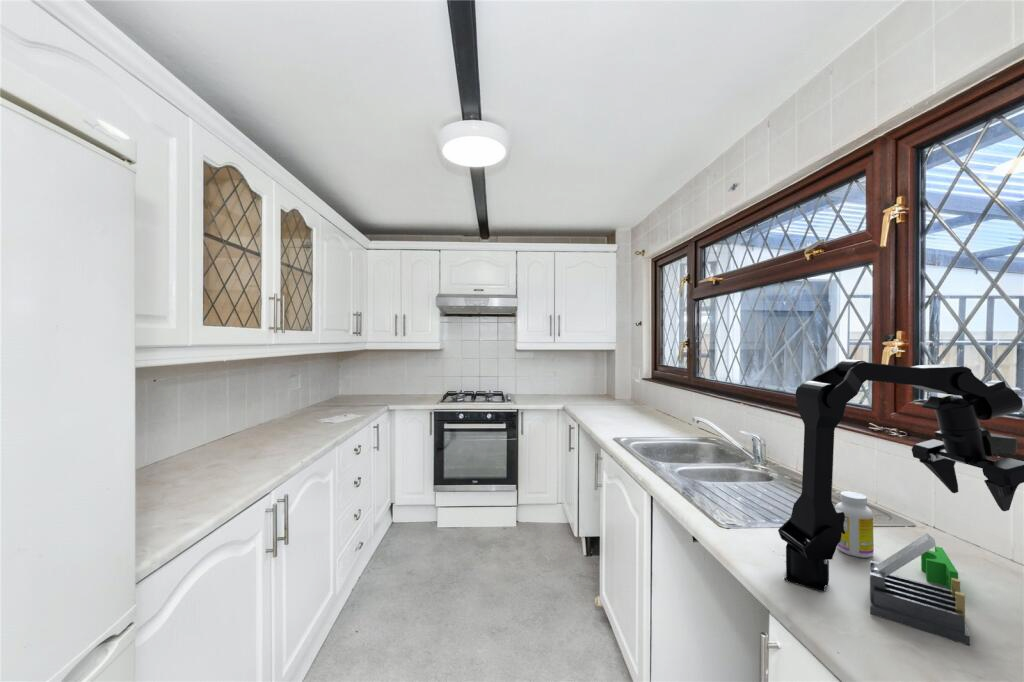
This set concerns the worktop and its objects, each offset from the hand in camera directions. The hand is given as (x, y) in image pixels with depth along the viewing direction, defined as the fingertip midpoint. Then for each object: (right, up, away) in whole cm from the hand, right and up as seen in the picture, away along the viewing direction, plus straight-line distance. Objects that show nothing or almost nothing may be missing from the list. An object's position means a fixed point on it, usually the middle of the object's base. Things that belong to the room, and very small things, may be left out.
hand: (979, 501), depth 85 cm
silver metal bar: (-24, -7, -10) cm, 26 cm away
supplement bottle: (-16, -16, +11) cm, 25 cm away
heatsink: (-23, -16, -10) cm, 29 cm away
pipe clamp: (-8, -16, 0) cm, 18 cm away
